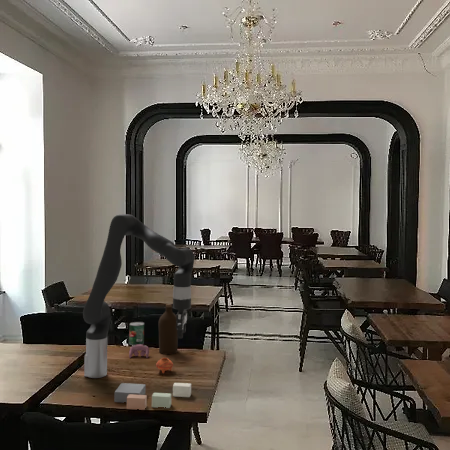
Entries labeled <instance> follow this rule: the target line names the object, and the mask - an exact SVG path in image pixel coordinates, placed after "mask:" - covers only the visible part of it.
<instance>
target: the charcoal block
mask: <svg viewBox="0 0 450 450" xmlns="http://www.w3.org/2000/svg"><path fill="white" fill-rule="evenodd" d="M146 387H147V386H146V383H145V384H143V383H129V382H127V383H125V382H121V383H120V384H119V386H118V387H117V388H116V389H115V391H114V401H113V402H114V403H124V402H126V403H125V404H127V397H128V395H129V394H134V395H146Z"/></svg>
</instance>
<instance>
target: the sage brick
mask: <svg viewBox="0 0 450 450" xmlns="http://www.w3.org/2000/svg"><path fill="white" fill-rule="evenodd" d="M171 406H172V393H166V392H153V393H152V394H151V408H158V407H164V408H163V409H170V408H171ZM165 407H166V408H165Z"/></svg>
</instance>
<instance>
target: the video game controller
mask: <svg viewBox="0 0 450 450" xmlns="http://www.w3.org/2000/svg"><path fill="white" fill-rule="evenodd" d="M139 351H140V353H139ZM139 354H140V356H141V357H145V358H146V359H148V358H149V355H150V348H149V346H147V345H145V344H142V345H141V344H138V345H131V347H130V348H129V355H128V357H129V359H131V358H132V356H133V355H134V356H135V357H138V356H139Z"/></svg>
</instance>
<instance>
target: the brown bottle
mask: <svg viewBox="0 0 450 450" xmlns="http://www.w3.org/2000/svg"><path fill="white" fill-rule="evenodd" d="M157 323H158V325H157V326H158V351H159V353H160V354H163V355H172V354H176V353H177V352H178V343H179V342H178V340H179V339H178V338H177V329H176V314H175V312H173V303H166V304H165V311H164V312H163V314H161V315H160V316H159V319H158V322H157Z"/></svg>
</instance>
